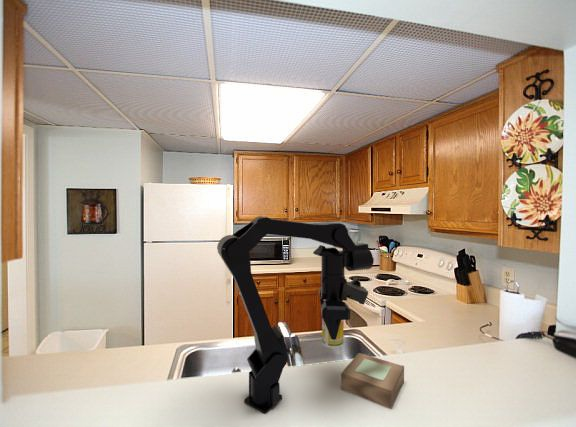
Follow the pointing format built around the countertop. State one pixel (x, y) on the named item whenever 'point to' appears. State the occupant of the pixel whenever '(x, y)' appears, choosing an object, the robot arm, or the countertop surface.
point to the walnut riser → (373, 379)
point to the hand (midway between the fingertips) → (332, 334)
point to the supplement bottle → (327, 339)
